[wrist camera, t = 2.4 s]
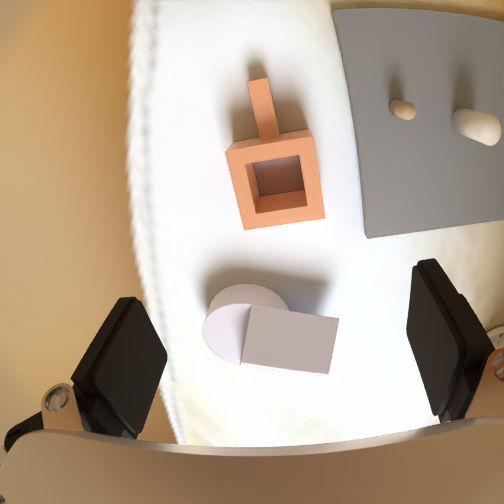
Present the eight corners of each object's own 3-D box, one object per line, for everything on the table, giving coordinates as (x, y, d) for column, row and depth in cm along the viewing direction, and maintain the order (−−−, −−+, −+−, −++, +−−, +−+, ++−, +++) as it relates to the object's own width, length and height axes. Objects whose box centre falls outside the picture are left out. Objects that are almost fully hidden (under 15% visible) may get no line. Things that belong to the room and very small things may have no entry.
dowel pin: (405, 115, 22) (417, 119, 20) (390, 116, 22) (400, 120, 20) (403, 99, 21) (414, 101, 19) (387, 100, 22) (398, 102, 20)
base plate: (525, 211, 25) (554, 234, 20) (364, 232, 29) (379, 264, 24) (518, 27, 16) (553, 25, 11) (331, 12, 20) (343, -6, 15)
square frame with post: (320, 200, 28) (325, 218, 24) (249, 211, 29) (244, 230, 26) (298, 73, 23) (300, 71, 19) (220, 88, 24) (209, 89, 20)
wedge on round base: (335, 297, 33) (211, 276, 33) (343, 342, 27) (196, 319, 27) (313, 355, 37) (206, 337, 37) (315, 399, 31) (194, 380, 32)
